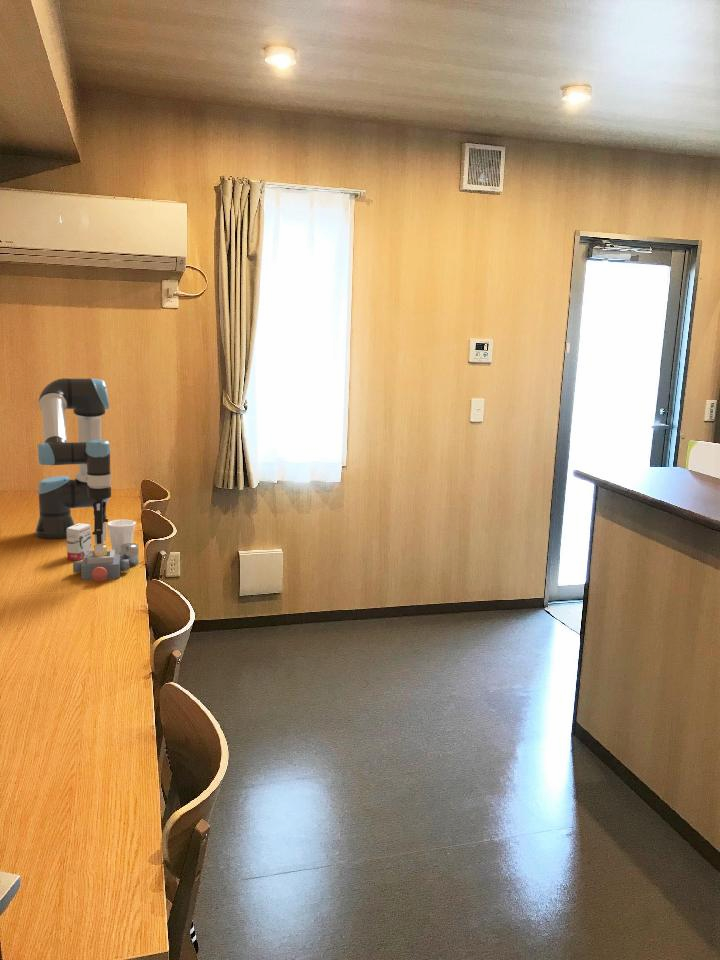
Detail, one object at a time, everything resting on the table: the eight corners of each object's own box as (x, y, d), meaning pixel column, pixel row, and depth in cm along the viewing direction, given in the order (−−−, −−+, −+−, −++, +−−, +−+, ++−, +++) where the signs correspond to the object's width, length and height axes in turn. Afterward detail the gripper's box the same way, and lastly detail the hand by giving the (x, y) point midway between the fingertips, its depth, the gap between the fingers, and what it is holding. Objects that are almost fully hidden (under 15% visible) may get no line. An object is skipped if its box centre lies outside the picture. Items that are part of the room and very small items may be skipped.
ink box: (79, 561, 257) (77, 529, 254) (66, 559, 257) (65, 528, 255) (92, 554, 265) (91, 523, 262) (80, 552, 266) (79, 522, 263)
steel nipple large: (121, 561, 258) (121, 543, 256) (138, 561, 259) (138, 542, 258) (120, 567, 252) (120, 548, 251) (138, 566, 254) (138, 547, 252)
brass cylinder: (95, 568, 246) (94, 544, 243) (107, 567, 247) (106, 543, 245) (95, 572, 242) (93, 548, 240) (107, 572, 243) (106, 547, 241)
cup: (141, 554, 266) (141, 521, 264) (125, 562, 257) (124, 527, 255) (119, 551, 270) (118, 518, 267) (102, 558, 260) (101, 524, 258)
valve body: (75, 569, 248) (75, 549, 247) (129, 566, 253) (129, 547, 252) (70, 584, 233) (69, 564, 232) (128, 581, 238) (127, 561, 237)
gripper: (90, 478, 249) (92, 536, 254) (83, 494, 226) (86, 558, 230) (113, 478, 251) (114, 536, 256) (108, 494, 228) (110, 557, 232)
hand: (101, 546), depth 243 cm, fingers open, 13 cm apart
